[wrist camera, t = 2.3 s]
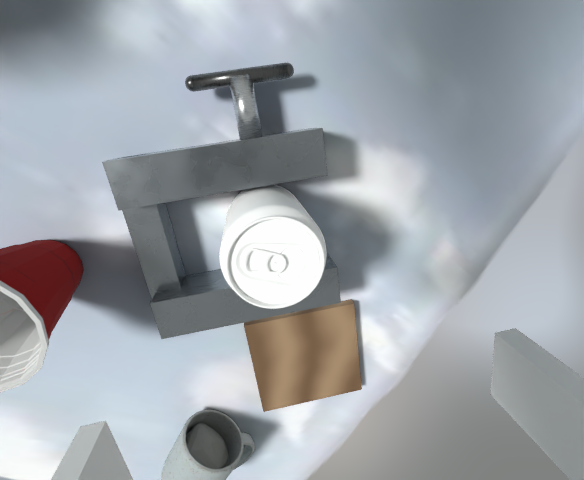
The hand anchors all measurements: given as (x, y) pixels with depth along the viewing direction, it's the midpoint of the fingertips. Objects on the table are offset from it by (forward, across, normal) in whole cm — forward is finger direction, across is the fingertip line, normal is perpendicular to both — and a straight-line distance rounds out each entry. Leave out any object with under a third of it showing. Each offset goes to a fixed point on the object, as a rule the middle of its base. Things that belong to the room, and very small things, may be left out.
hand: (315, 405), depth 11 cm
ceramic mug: (+25, -12, -28) cm, 39 cm away
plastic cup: (+25, -22, -1) cm, 33 cm away
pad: (+25, +2, -18) cm, 31 cm away
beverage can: (+25, 0, 0) cm, 25 cm away
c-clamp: (+25, -3, +3) cm, 25 cm away
